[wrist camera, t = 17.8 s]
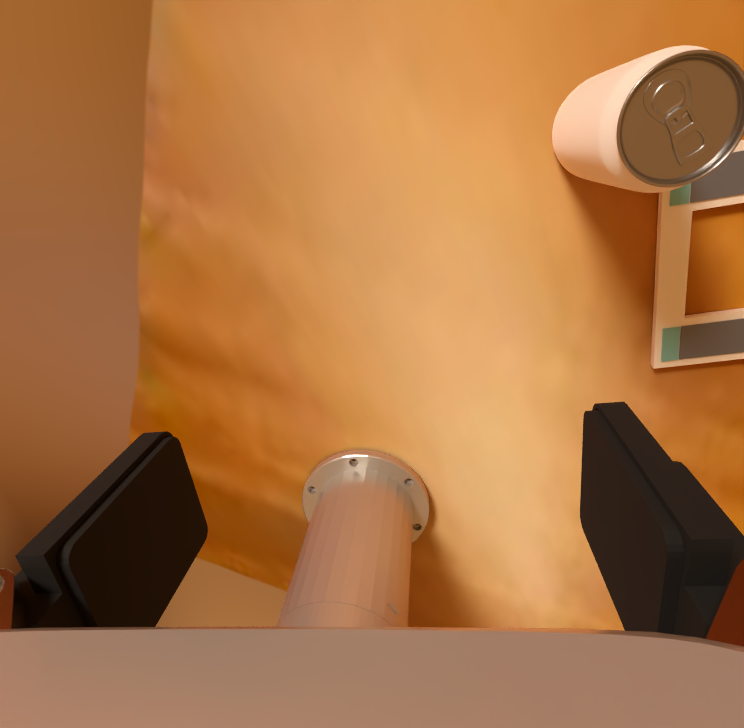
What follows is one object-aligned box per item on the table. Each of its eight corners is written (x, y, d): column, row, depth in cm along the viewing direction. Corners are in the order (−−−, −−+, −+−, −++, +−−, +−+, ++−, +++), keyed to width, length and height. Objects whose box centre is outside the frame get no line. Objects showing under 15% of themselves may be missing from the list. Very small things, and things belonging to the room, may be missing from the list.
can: (624, 49, 31) (729, -1, 20) (667, 139, 33) (785, 137, 22) (532, 118, 33) (581, 106, 22) (577, 198, 35) (644, 224, 24)
